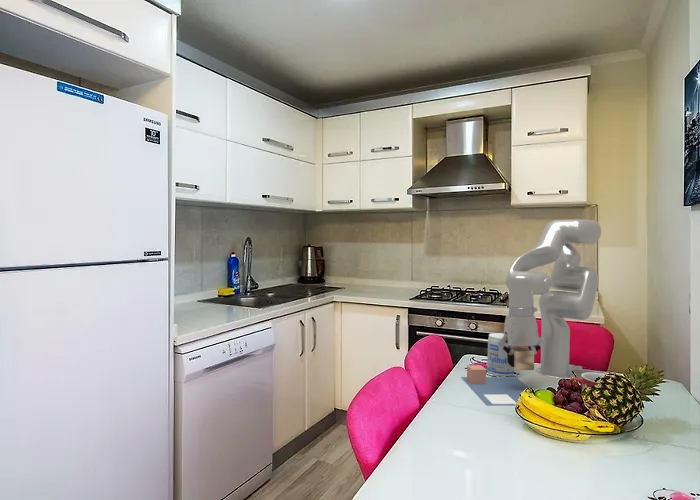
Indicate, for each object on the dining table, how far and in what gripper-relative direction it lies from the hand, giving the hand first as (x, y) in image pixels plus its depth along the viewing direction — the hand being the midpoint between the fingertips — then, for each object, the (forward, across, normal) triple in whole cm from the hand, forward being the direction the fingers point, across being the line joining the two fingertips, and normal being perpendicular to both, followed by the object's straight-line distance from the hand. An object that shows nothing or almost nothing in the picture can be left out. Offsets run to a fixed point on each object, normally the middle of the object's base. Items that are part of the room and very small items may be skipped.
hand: (521, 364), depth 140 cm
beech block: (+1, 0, 0) cm, 1 cm away
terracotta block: (+7, +13, -6) cm, 16 cm away
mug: (+9, -8, +26) cm, 28 cm away
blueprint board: (+8, +7, +2) cm, 11 cm away
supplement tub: (+10, 0, -17) cm, 20 cm away
